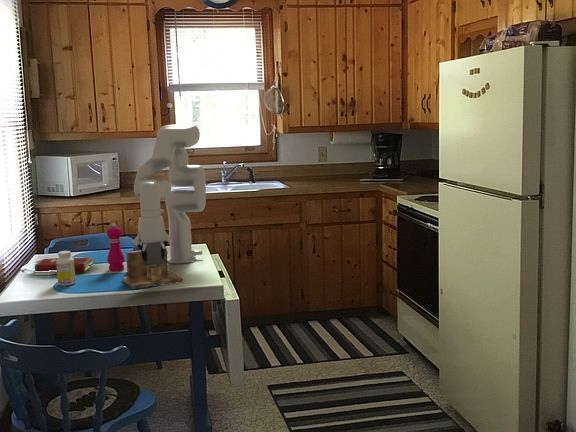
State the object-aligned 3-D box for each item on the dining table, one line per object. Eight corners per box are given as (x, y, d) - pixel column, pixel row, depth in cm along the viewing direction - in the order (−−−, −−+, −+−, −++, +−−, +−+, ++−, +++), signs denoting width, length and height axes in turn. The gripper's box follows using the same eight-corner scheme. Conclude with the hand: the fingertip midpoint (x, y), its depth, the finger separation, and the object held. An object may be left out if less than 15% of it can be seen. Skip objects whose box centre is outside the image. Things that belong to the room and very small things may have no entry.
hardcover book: (85, 272, 291) (84, 263, 290) (35, 274, 290) (34, 264, 290) (92, 266, 302) (92, 256, 302) (44, 267, 302) (43, 258, 302)
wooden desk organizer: (170, 274, 283) (169, 246, 281) (183, 281, 270) (181, 253, 268) (122, 280, 274) (120, 252, 272) (133, 289, 261) (131, 259, 259)
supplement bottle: (67, 281, 276) (65, 249, 273) (79, 282, 272) (77, 251, 270) (54, 285, 270) (51, 252, 268) (66, 286, 266) (63, 254, 264)
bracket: (160, 262, 271) (158, 240, 270) (162, 263, 269) (160, 241, 267) (145, 264, 268) (143, 242, 267) (147, 265, 266) (145, 243, 265)
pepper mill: (120, 271, 289) (117, 224, 286) (104, 271, 290) (101, 224, 287) (128, 267, 296) (125, 221, 293) (112, 267, 297) (109, 221, 294)
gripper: (169, 210, 273) (171, 255, 276) (126, 214, 265) (128, 260, 268) (175, 212, 266) (177, 258, 269) (131, 217, 258) (134, 264, 261)
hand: (153, 259), depth 268 cm, fingers closed on bracket, 6 cm apart
